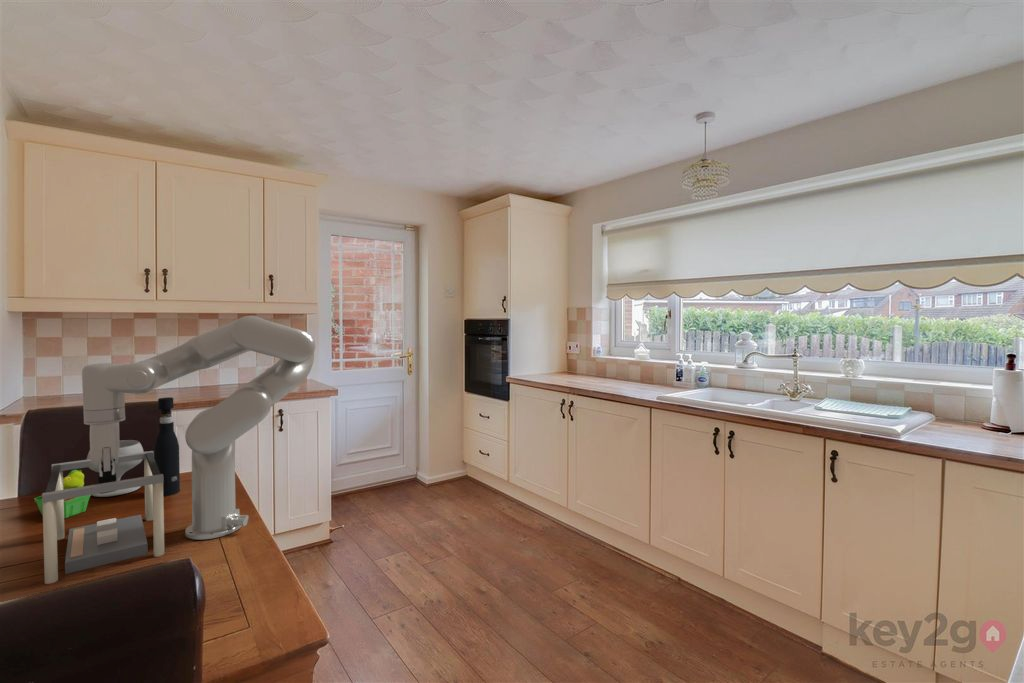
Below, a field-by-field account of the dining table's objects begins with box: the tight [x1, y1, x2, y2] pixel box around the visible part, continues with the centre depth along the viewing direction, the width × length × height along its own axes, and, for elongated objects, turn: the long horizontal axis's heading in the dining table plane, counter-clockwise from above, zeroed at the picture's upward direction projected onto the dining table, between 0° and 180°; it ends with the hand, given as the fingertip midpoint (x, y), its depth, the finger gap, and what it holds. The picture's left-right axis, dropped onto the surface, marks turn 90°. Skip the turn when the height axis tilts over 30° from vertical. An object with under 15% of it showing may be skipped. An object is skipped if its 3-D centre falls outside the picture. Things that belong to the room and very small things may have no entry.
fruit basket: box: [34, 469, 92, 519], centre depth 135 cm, size 11×9×11 cm
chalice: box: [86, 439, 145, 498], centre depth 152 cm, size 14×14×15 cm
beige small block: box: [96, 517, 117, 532], centre depth 117 cm, size 2×4×2 cm, turn 131°
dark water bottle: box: [153, 396, 181, 497], centre depth 150 cm, size 6×6×30 cm
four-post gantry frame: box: [42, 459, 165, 585], centre depth 114 cm, size 28×20×17 cm
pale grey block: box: [97, 528, 118, 545], centre depth 111 cm, size 2×4×2 cm, turn 131°
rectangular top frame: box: [41, 450, 164, 503], centre depth 114 cm, size 28×20×2 cm
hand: (107, 491), depth 114 cm, fingers closed
